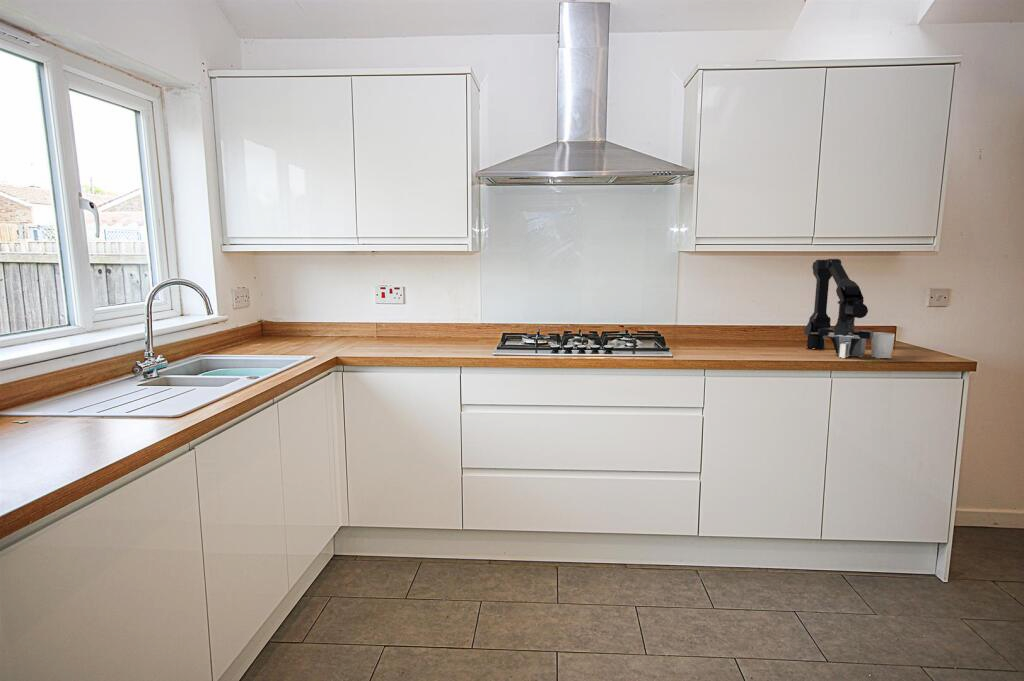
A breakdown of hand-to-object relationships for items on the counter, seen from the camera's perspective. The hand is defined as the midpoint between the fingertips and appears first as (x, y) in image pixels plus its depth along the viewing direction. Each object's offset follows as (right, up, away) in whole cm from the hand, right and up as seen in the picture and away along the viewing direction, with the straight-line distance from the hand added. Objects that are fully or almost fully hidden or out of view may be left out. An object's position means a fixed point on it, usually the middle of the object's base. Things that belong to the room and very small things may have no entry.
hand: (843, 354), depth 235 cm
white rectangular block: (+4, -1, +4) cm, 6 cm away
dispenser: (+8, -1, +8) cm, 11 cm away
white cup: (+16, -2, +2) cm, 16 cm away
